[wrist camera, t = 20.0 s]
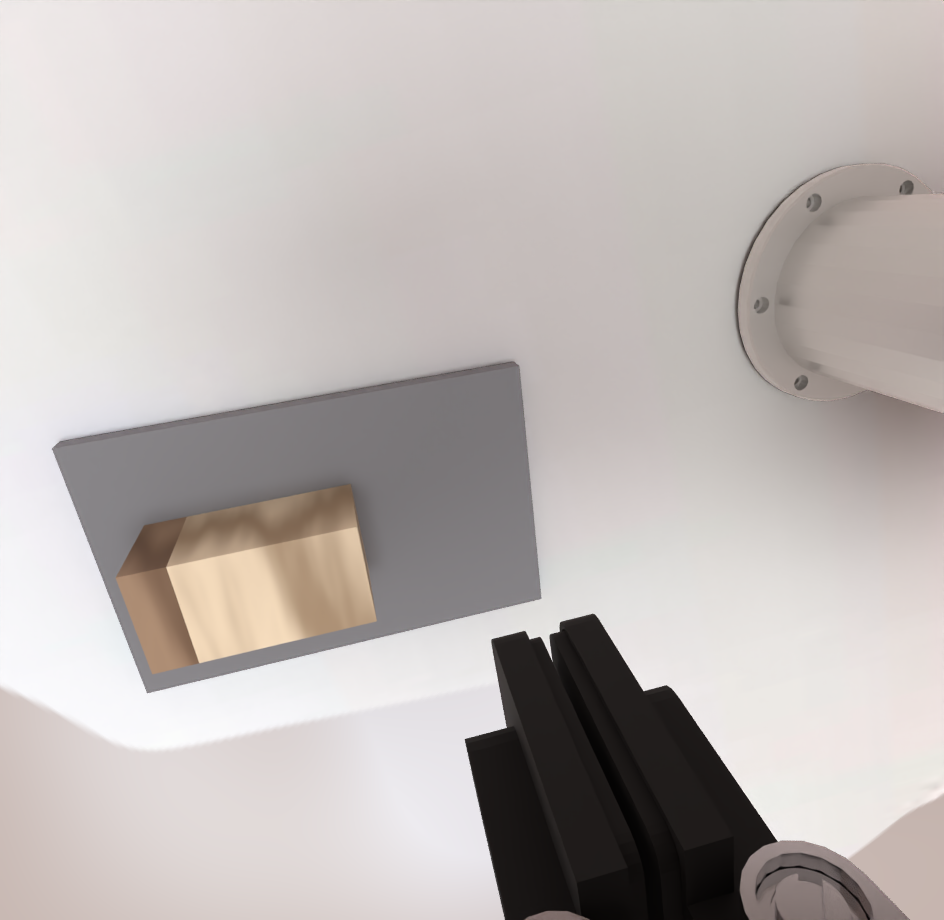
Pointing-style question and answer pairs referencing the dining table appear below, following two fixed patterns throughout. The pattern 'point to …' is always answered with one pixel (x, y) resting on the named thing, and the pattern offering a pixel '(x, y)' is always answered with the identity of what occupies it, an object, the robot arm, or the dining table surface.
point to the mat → (331, 465)
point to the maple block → (247, 578)
